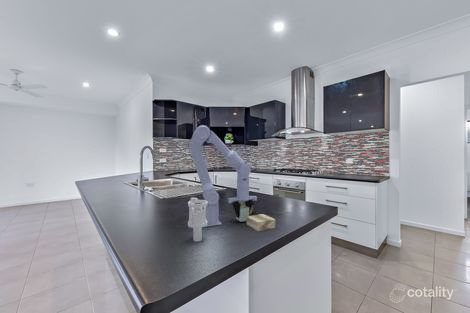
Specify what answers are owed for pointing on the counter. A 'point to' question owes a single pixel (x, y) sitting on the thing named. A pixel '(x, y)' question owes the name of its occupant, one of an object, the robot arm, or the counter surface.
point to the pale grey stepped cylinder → (197, 217)
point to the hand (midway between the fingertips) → (242, 216)
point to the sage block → (243, 213)
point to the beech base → (261, 222)
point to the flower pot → (244, 205)
